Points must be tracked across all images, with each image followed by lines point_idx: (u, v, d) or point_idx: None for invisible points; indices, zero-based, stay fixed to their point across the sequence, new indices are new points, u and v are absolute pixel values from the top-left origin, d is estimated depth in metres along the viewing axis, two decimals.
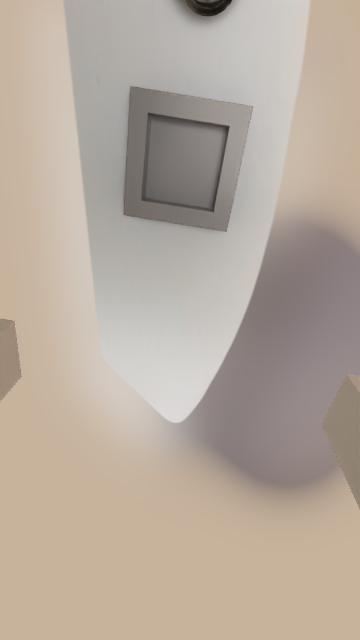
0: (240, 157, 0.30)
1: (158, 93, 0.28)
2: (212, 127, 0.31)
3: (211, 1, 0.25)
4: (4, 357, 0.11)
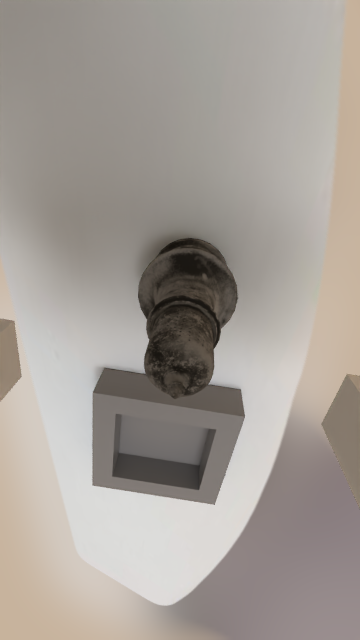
0: (229, 453, 0.25)
1: (127, 400, 0.23)
2: None
3: None
4: (4, 357, 0.11)
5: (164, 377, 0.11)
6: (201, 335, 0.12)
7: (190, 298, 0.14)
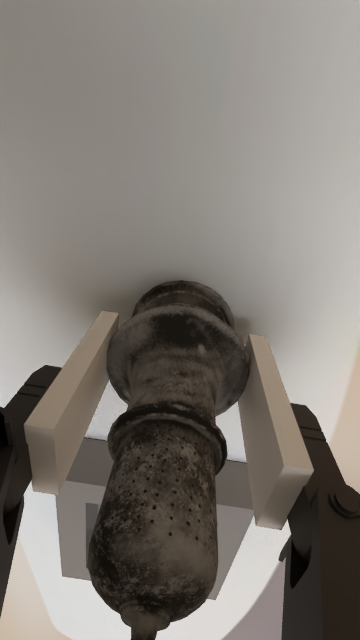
0: (235, 549, 0.19)
1: (100, 488, 0.17)
2: None
3: None
4: None
5: (121, 611, 0.06)
6: (194, 503, 0.06)
7: (177, 409, 0.08)
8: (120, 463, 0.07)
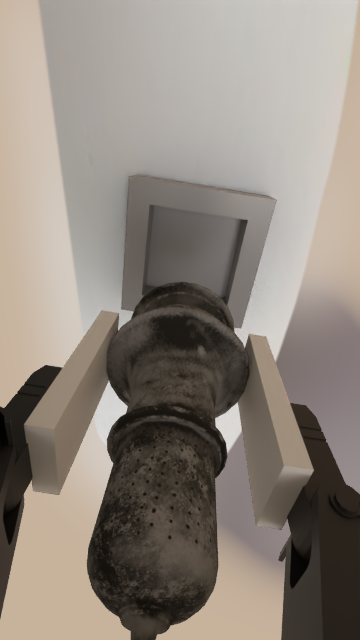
0: (259, 253, 0.25)
1: (162, 184, 0.23)
2: None
3: None
4: None
5: (120, 615, 0.06)
6: (194, 506, 0.06)
7: (177, 411, 0.08)
8: (120, 466, 0.07)
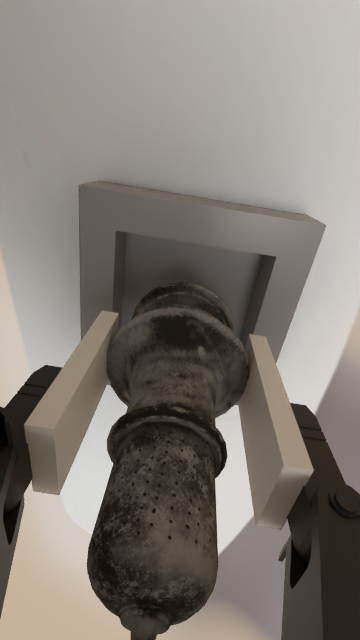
0: (292, 307, 0.16)
1: (135, 198, 0.14)
2: None
3: None
4: None
5: (120, 615, 0.06)
6: (194, 506, 0.06)
7: (176, 411, 0.08)
8: (120, 466, 0.07)
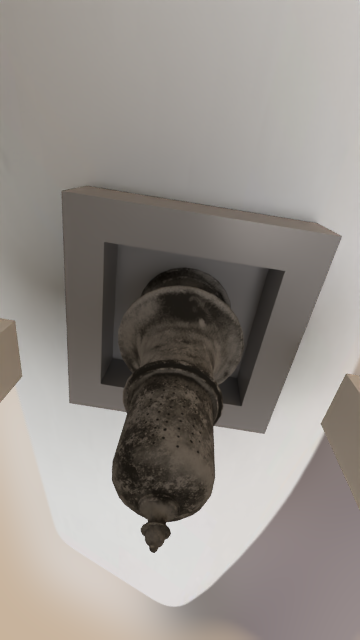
0: (302, 326, 0.14)
1: (125, 206, 0.12)
2: None
3: None
4: (5, 357, 0.11)
5: (139, 504, 0.07)
6: (196, 430, 0.08)
7: (181, 364, 0.10)
8: (135, 405, 0.09)
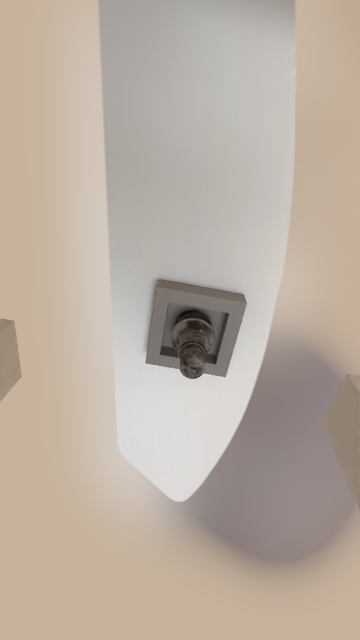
0: (236, 332, 0.40)
1: (176, 292, 0.38)
2: None
3: None
4: (4, 357, 0.11)
5: (187, 371, 0.33)
6: (200, 356, 0.34)
7: (196, 341, 0.35)
8: (184, 351, 0.34)
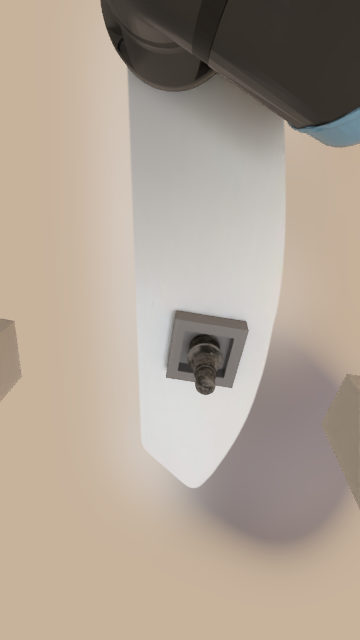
0: (240, 353, 0.49)
1: (191, 322, 0.47)
2: None
3: None
4: (4, 357, 0.11)
5: (202, 389, 0.42)
6: (211, 377, 0.43)
7: (207, 364, 0.44)
8: (198, 373, 0.44)
